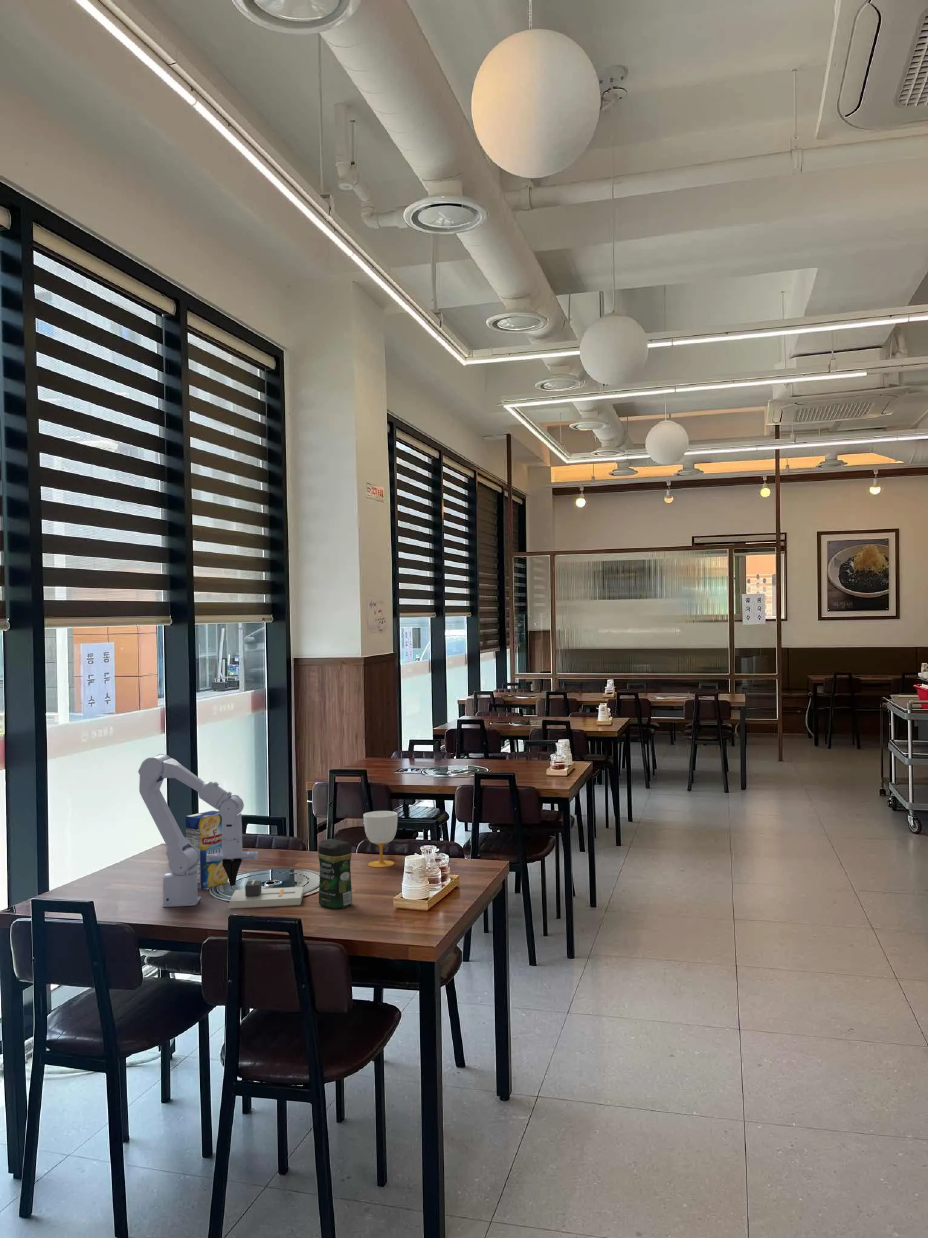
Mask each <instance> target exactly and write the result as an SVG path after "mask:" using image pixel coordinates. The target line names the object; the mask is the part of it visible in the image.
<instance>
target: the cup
mask: <svg viewBox="0 0 928 1238" xmlns="http://www.w3.org/2000/svg"><path fill="white" fill-rule="evenodd" d="M398 815H399V814H398V812H396V811H391V810H375V811H369V812H365V813H363V816H362V818H363V826H364V832H365V835H366V838H367V839H368V841H369V842H370V843H372V844H374V845H376V846H378V848H379V858H378V859H379V860H374V861H369V863H367V865H368V867H370V868H377V869H378V868H379V869H380V868H388V867H389V868H390V867H392V866H395V862H394V861H392V860H384V858H383V856H384V854H383V851H384V850H383V849H384V848H383V847H384V845H387V844H389V843H390V842H392V841H393V840H394V838H395V836H396V833H397V831H398V819H399V818H398V817H399V816H398Z"/></svg>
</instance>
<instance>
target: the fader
mask: <svg viewBox="0 0 928 1238" xmlns="http://www.w3.org/2000/svg"><path fill="white" fill-rule="evenodd" d="M244 888H245V889H244V890H245V896H259V895H260V893H261V889H262V880H256V879H253V880H248V881H247V882H246V883H245V885H244Z"/></svg>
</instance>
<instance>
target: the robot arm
mask: <svg viewBox="0 0 928 1238" xmlns="http://www.w3.org/2000/svg"><path fill="white" fill-rule="evenodd" d="M137 772H138V774H139V783H138V784H139V785H138V786H139V787H138V791H139V794H140V796H141V798H142V801H143V803H144V805H145V806H146V809H147V810H148V811H149V814H150V815H151V818H152V820H153V822H154V824H155V826H156V828H157V830H158V831H159V834H160V835H161V837H162V840H163V841H164V843H165V846H166V850H165V852H166V853H165V855H166V856H167V860H168V868H169V870H170V871H171V872H166V873H164V874H163V875H164V876H163V880H162V903H163V904H162V907H163V908H169V907H171V908H172V907H189V906H190V907H191V906H192V907H193V906H197V905H198V903H199V902H200V900H201V899H202V896H201V895H199V894H198V889H197V868H196V864H197V863H198V861H199V859H200V854H199V851H198V850H197V849H196V848H195V847H194V846H192V844H191V843H190V841H189V840H188V839H187V838H186V836H185V835H184V834H183V833H182V830H181V828H180V827H179V824H178V823H177V820H176V818H175V817H174V815H173V813H172V811H171V808H170V807H169V805H168V802H167V800H166V799H165V797H164V795H163V793H162V791H161V788H162V784H163V782H164V779H176V780H177V781H178V782H180V783H183V784H184V785H186V786H187V787H189V788H191V789H193V790H194V791H196V792H197V794H198V798H199V799H200V800H202V801H203V802H205V803H206V804H208V805H209V806H211V808H212V807H213V809H215V810H216V811H219V814H220V815H221V816H222V853H213V854H207V855H206V862H210V861H223V863H222V865H223V867H224V869H225V871H226V873H227V876H228V882H229V887H235V886H236V884H237V877H238V872H239V869H240V867H241V865H242V863H243V860H245V861H246V860H258V859H259V851H248V850H247V851H246V850H245V851H243V822H242V821H243V820H242V811H243V809H244V807H245V804H244V801H243V799H242V798H241V797H240V796H239V795H237V794H233V793H232V792H230V791H226V790H225V789H223V788H222V787H220V786H219V784H220V783H218V782H217V781H214V782H213V781H211V780H210V781H207V782H206V781H204V780H203V779H201V778H199V776H197V775H196V774H194V773H193V772H192V771H190V770H189V769H188V768H186V767H185V766H184V765H182V763H180V762H179V761H177V760H176V759H175V758H173V757H171V756H169V755H167V754H165V753H159V754H156V755H155V756H152V757H151V756H150V757H147V758H145V759H144V760H143V761H142V762H141V764H140V766H139V768H138V771H137ZM198 895H199V896H198Z"/></svg>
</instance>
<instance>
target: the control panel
mask: <svg viewBox="0 0 928 1238" xmlns="http://www.w3.org/2000/svg"><path fill="white" fill-rule="evenodd" d="M303 896H304V886H294V887H293V886H291V887H272V888H271V887H269V888H261V893H260V895H259V896H245V889H235V890H234V892H233V894H232V896H231V898H230V900H229V909H243V908H245V909H246V908H261V907H262V908H264V907H266V908H267V907H281V906H282V907H283V906H284V907H285V906H300V905H301V904H302V901H303Z"/></svg>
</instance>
